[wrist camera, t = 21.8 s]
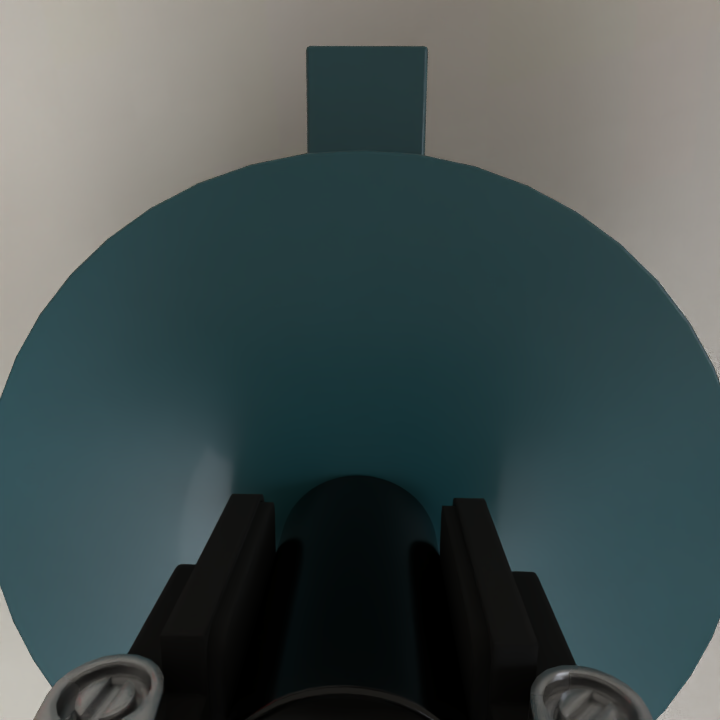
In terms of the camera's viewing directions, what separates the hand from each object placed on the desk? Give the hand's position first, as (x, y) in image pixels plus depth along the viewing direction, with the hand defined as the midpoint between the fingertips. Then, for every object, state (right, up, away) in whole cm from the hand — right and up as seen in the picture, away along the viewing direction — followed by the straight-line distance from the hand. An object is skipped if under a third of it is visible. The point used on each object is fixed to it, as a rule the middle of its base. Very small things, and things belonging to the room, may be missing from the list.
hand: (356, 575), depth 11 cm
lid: (0, 0, +2) cm, 2 cm away
